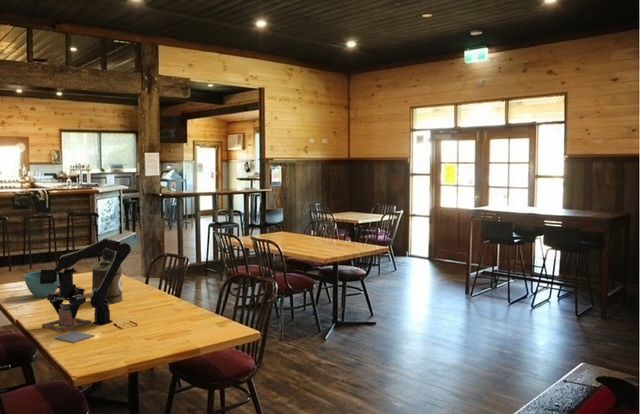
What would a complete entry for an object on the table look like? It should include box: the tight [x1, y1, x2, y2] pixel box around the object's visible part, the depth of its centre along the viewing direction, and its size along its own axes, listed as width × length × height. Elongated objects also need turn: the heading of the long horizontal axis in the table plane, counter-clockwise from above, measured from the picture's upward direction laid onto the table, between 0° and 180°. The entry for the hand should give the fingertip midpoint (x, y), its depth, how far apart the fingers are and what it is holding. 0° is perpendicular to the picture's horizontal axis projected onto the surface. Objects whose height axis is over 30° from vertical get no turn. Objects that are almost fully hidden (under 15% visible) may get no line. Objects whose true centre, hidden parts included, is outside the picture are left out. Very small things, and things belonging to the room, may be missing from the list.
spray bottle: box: [98, 248, 116, 266], centre depth 311 cm, size 10×10×25 cm
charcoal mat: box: [53, 330, 95, 344], centre depth 230 cm, size 12×10×1 cm
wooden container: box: [91, 260, 123, 305], centre depth 291 cm, size 15×15×22 cm
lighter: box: [58, 303, 76, 328], centre depth 246 cm, size 8×3×10 cm, turn 74°
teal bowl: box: [23, 271, 59, 299], centre depth 301 cm, size 18×18×12 cm
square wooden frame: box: [41, 317, 92, 333], centre depth 246 cm, size 14×14×2 cm
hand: (66, 316), depth 246 cm, fingers open, 9 cm apart
